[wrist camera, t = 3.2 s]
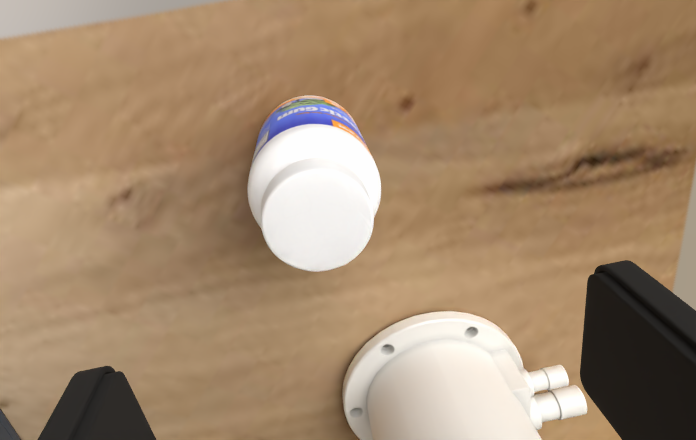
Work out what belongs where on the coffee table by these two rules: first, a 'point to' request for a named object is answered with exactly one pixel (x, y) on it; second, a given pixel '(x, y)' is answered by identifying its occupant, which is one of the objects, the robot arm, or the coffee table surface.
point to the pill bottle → (313, 184)
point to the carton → (7, 429)
